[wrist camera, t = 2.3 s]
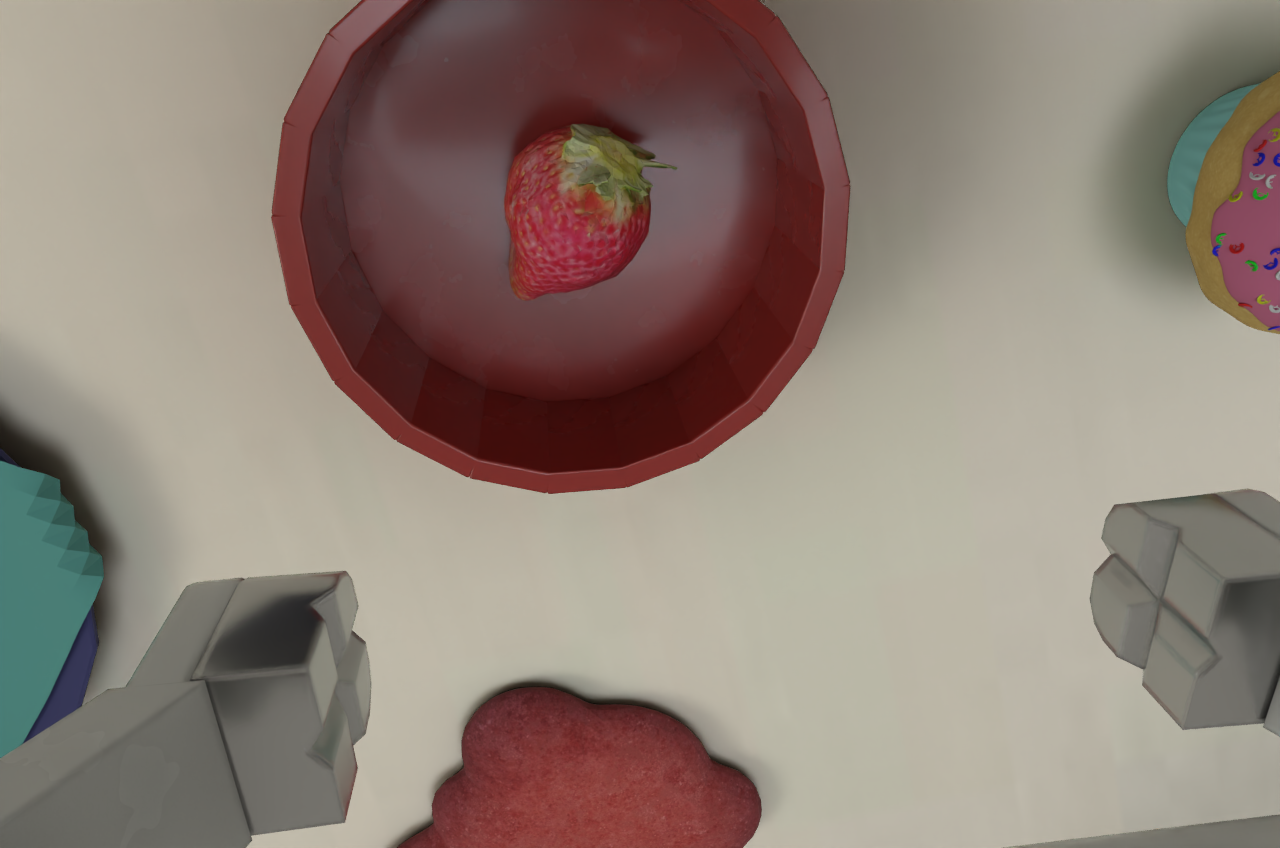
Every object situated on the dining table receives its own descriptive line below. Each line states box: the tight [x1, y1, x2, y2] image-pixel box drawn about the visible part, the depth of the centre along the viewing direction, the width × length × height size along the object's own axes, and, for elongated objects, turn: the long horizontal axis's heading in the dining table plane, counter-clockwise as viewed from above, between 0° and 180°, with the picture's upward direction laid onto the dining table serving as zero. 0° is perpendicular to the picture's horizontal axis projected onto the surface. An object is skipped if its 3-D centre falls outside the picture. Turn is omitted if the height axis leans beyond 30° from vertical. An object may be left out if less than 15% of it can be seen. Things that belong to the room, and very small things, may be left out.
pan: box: [271, 0, 850, 494], centre depth 26 cm, size 14×14×5 cm
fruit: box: [504, 124, 678, 301], centre depth 25 cm, size 4×6×5 cm
